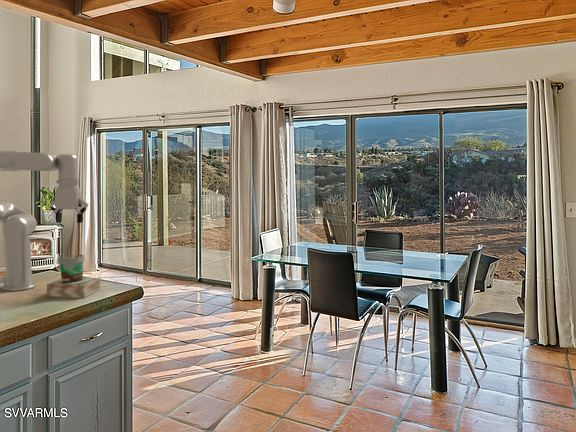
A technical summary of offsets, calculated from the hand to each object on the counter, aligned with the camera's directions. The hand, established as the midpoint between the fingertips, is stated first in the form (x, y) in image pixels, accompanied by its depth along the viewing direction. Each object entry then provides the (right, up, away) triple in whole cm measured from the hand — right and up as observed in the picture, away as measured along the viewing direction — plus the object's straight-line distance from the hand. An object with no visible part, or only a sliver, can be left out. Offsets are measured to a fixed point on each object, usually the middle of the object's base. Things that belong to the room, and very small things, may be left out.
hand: (69, 222), depth 202 cm
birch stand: (+6, -29, -9) cm, 31 cm away
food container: (+8, -24, -10) cm, 27 cm away
